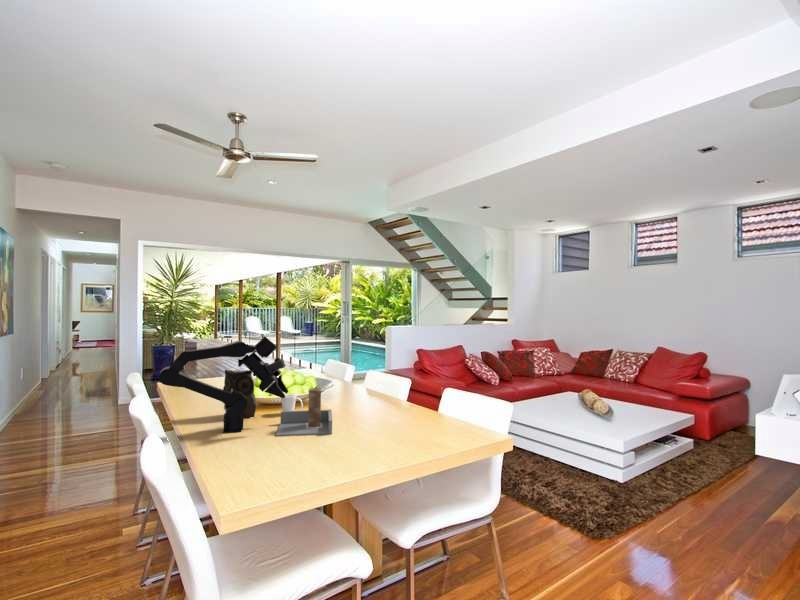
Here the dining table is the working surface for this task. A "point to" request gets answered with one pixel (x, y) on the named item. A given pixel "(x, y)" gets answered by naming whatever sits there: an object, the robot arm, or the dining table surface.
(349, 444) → the dining table surface
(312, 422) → the walnut column
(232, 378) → the owl
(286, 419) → the tray
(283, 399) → the cup
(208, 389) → the robot arm
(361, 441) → the dining table surface
